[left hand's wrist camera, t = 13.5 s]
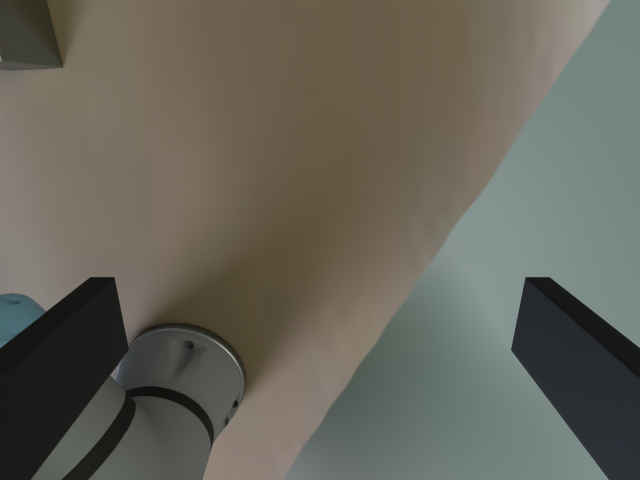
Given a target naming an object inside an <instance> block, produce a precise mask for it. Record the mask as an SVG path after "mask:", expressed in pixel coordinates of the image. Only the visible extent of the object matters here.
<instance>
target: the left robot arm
mask: <svg viewBox="0 0 640 480" xmlns="http://www.w3.org/2000/svg"><path fill="white" fill-rule="evenodd" d="M511 351H512V352H513V353H514V355H515V356H516V357H517V359H518V360H519V361H520V363H521V364H522V365H523V366H524V368H525V369H526V370H527V372H528V373H529V374H530V376H531V377H532V378H533V380H534V381H535V382H536V384H537V385H538V386H539V388H540V389H541V390H542V392H543V393H544V394H545V396H546V397H547V398H548V399H549V401H550V402H551V404H552V405H553V406H554V407H555V409H556V410H557V411H558V413H559V414H560V415H561V417H562V418H563V419H564V421H565V422H566V423H567V425H568V426H569V427H570V429H571V430H572V431H573V433H574V434H575V435H576V437H577V438H578V439H579V441H580V442H581V443H582V445H583V446H584V447H585V449H586V450H587V451H588V453H589V454H590V455H591V456H592V458H593V459H594V460H595V462H596V463H597V464H598V466H599V467H600V468H601V470H602V471H603V472H604V474H605V475H606V476H607V478H608V479H609V480H640V348H639V347H638V346H636V345H635V344H634V343H633V342H631V341H630V340H629V339H628V338H626V337H625V336H624V335H622V334H621V333H620V332H619V331H617V330H616V329H615V328H614V327H612V326H611V325H610V324H608V323H607V322H606V321H605V320H603V319H602V318H601V317H600V316H598V315H597V314H596V313H594V312H593V311H592V310H591V309H589V308H588V307H587V306H586V305H584V304H583V303H582V302H580V301H579V300H578V299H577V298H575V297H574V296H573V295H571V294H570V293H569V292H568V291H566V290H565V289H564V288H563V287H561V286H560V285H559V284H557V283H556V282H555V281H554V280H552V279H551V278H550V277H526V278H525V283H524V288H523V293H522V298H521V303H520V308H519V313H518V318H517V323H516V328H515V333H514V338H513V343H512V348H511ZM117 365H118V367H117V370H116V376H115V380H114V379H113V378H112V377H111V376H110V374H111V373H112V372H113V370H114V369H115V368H116V366H117ZM245 386H246V374H245V369H244V366H243V363H242V361H241V359H240V357H239V355H238V354H237V352H236V351H235V350H234V349H233V348H232V347H231V345H230V344H229V343H227V342H226V341H225V340H224V339H222V338H221V337H220V336H218V335H216V334H215V333H213V332H211V331H209V330H206V329H203V328H200V327H197V326H193V325H187V324H167V325H162V326H158V327H155V328H152V329H150V330H147V331H146V332H144V333H142V334H141V335H140V336H138V337H137V338H136V339H135V340H134V341H133V342H132V343H131V344H130V346H129V347H128V343H127V338H126V333H125V328H124V323H123V318H122V313H121V308H120V303H119V298H118V293H117V288H116V283H115V278H114V277H90V278H89V279H88V280H86V281H85V282H84V283H82V284H81V285H80V286H79V287H77V288H76V289H75V290H74V291H72V292H71V293H70V294H68V295H67V296H66V297H65V298H63V299H62V300H61V301H60V302H58V303H57V304H56V305H54V306H53V307H52V308H51V309H49V310H48V311H47V312H46V311H45V310H44V309H43V308H42V307H41V306H40V305H38V304H37V303H36V302H35V301H34V300H33V299H31V298H30V297H28V296H25V295H22V294H15V293H10V294H3V295H0V480H202V479H203V476H204V472H205V469H206V465H207V462H208V459H209V455H210V451H211V448H212V445H213V442H214V441H215V440H216V438H217V437H218V436H219V434H220V433H221V432H222V431H224V430H223V429H224V428H225V427H227V426H226V425H227V424H228V423H229V421H230V420H231V419H232V418H233V416H234V415H235V413H236V412H237V410H238V408H239V406H240V404H241V401H242V399H243V395H244V391H245ZM220 435H221V434H220Z"/></svg>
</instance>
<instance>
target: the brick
mask: <svg viewBox="0 0 640 480" xmlns="http://www.w3.org/2000/svg"><path fill="white" fill-rule="evenodd" d="M46 68H63V65H62V61H61V57H60V53H59V49H58V45H57V41H56V38H55V34H54V30H53V26H52V22H51V18H50V14H49V10H48V6H47V2H46V0H0V69H3V70H28V69H46Z"/></svg>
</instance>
